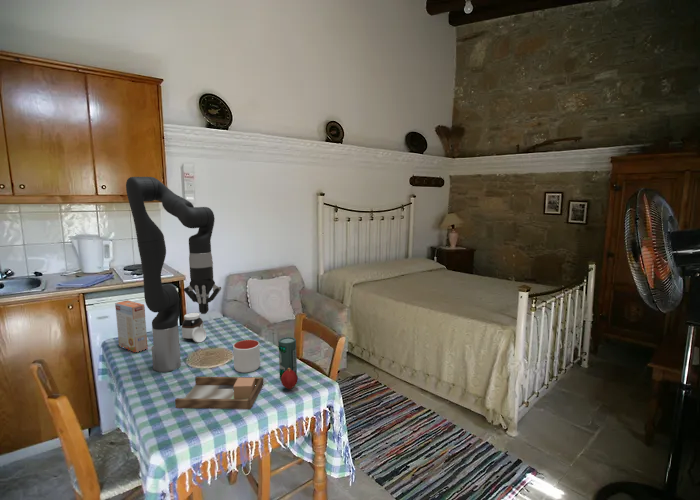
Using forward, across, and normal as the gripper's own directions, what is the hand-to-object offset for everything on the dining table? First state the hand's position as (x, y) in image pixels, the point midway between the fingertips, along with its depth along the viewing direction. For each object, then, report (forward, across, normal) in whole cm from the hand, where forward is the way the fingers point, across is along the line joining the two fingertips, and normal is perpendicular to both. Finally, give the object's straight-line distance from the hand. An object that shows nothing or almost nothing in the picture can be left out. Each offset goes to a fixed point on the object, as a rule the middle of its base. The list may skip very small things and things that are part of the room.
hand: (204, 313), depth 135 cm
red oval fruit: (+27, +30, -2) cm, 41 cm away
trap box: (+27, +8, -8) cm, 29 cm away
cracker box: (+27, -48, +33) cm, 64 cm away
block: (+27, +15, -6) cm, 32 cm away
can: (+27, +28, +6) cm, 39 cm away
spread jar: (+27, -24, +44) cm, 57 cm away
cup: (+27, +10, +14) cm, 32 cm away
